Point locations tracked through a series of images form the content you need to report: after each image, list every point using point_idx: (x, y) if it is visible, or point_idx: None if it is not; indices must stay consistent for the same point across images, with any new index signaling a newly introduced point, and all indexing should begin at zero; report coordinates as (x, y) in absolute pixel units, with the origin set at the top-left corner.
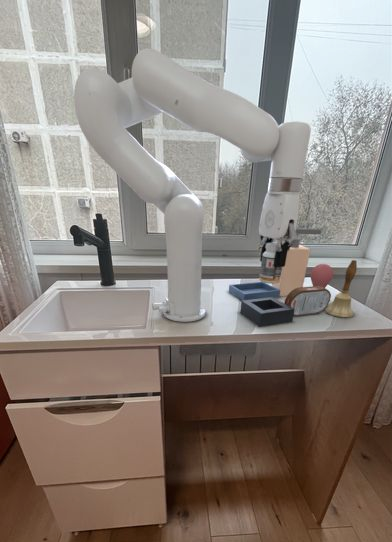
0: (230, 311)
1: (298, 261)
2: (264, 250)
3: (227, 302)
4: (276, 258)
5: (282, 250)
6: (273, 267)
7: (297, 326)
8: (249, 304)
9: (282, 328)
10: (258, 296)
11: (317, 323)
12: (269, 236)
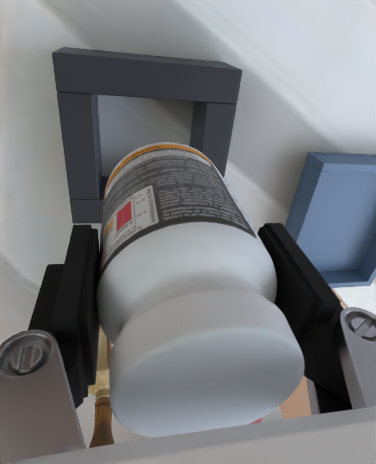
0: (259, 29)
1: (306, 408)
2: (293, 290)
3: (341, 82)
4: (66, 271)
5: (1, 363)
6: (106, 225)
7: (40, 192)
8: (181, 75)
9: (32, 132)
10: (296, 213)
11: (50, 259)
12: (203, 447)
